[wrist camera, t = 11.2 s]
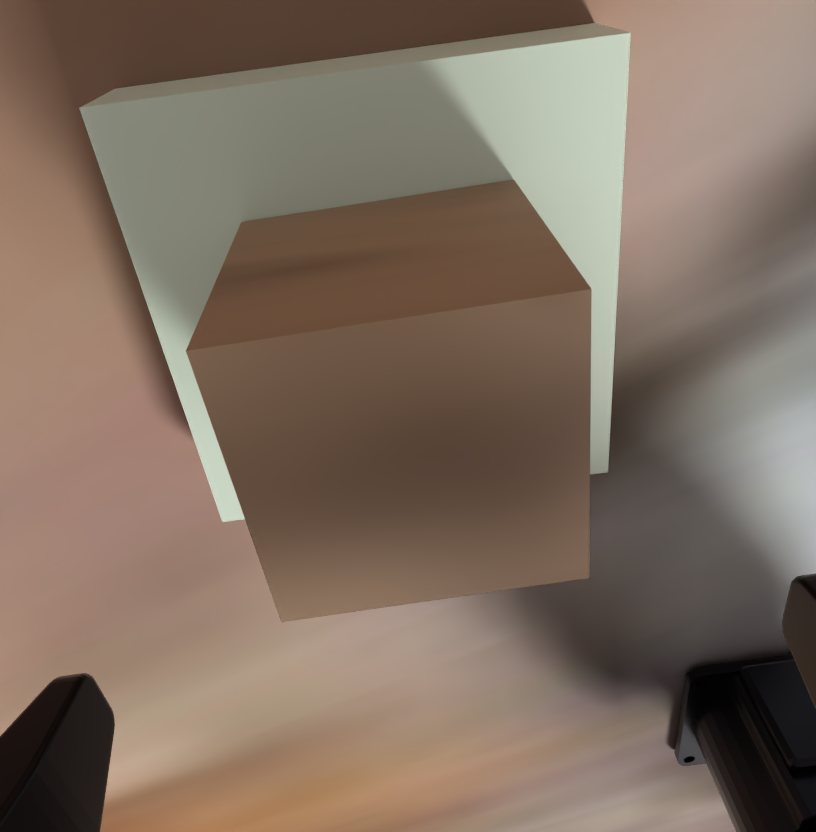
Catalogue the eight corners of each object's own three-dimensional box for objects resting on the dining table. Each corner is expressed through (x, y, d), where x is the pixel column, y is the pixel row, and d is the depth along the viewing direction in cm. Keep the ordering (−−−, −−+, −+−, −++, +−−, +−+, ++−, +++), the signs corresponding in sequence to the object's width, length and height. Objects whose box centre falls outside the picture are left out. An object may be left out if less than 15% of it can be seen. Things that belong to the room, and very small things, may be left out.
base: (579, 414, 22) (607, 472, 20) (237, 459, 23) (222, 522, 20) (588, 21, 16) (630, 33, 14) (121, 85, 17) (79, 107, 14)
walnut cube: (526, 409, 19) (589, 578, 14) (301, 443, 19) (281, 621, 14) (513, 179, 15) (591, 289, 10) (241, 222, 15) (185, 350, 10)
